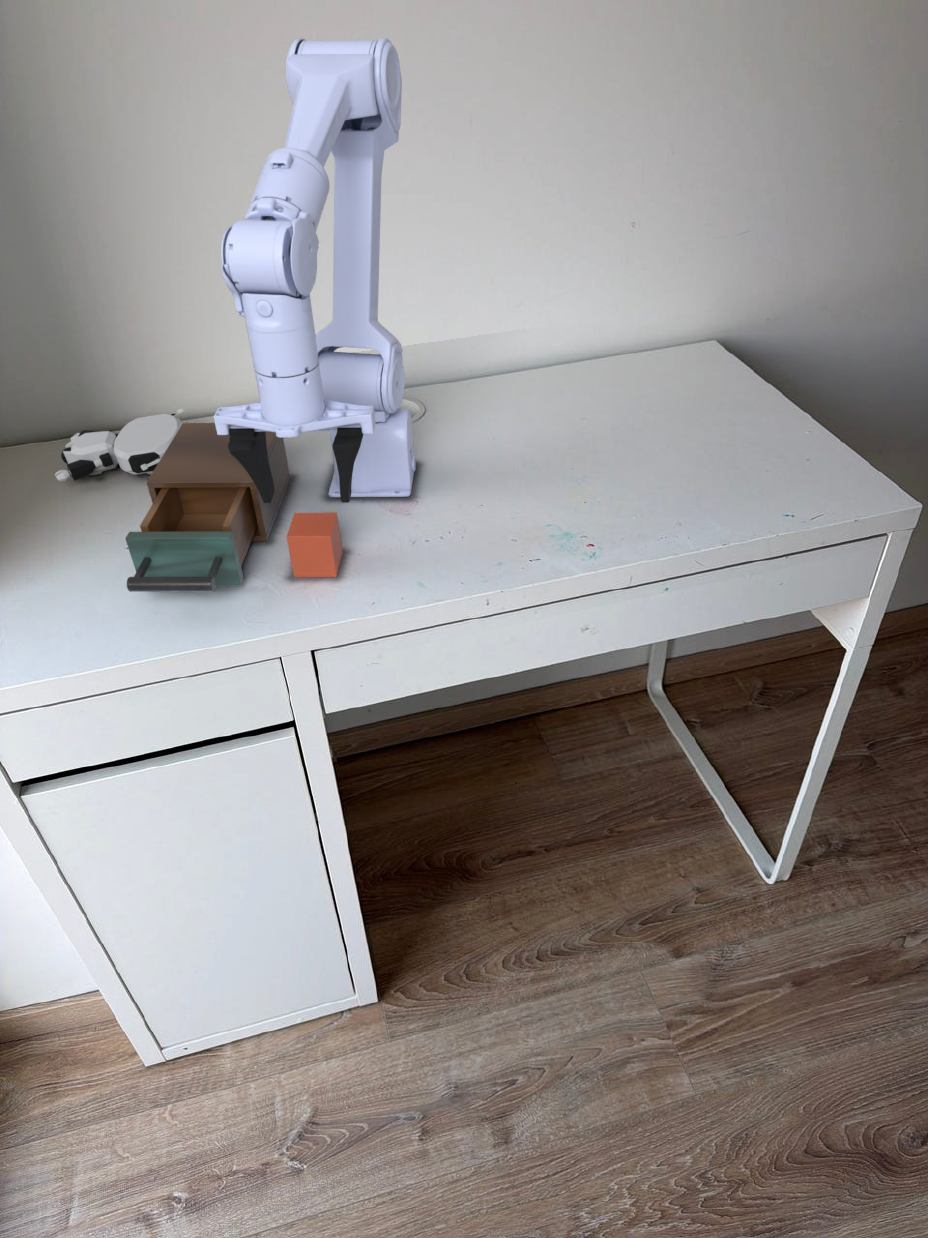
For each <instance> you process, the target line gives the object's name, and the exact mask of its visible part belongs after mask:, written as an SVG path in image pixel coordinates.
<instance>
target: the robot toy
mask: <svg viewBox="0 0 928 1238" xmlns="http://www.w3.org/2000/svg"><path fill="white" fill-rule="evenodd" d="M184 410H185V409H183V408H180V409H177V410H176V411H174V412H171V413H161V414H155V415H148V416H147V415H146V416H141V417H137V418H135V419H133V420H130V421H129V422H127V423H126V424H125V425H124V426H123V427H122V428H121V429H120V431H119V433H113V432H112V431H110V430H103V431H98V430H92V429H91V430H90V429H84V430H81V431H80V432H76V433H75V434H73V436H71V437H70V441H69V442H68V443H66V444H65V447H64V449H62V451H61V453H60V458H61V460H62V461H63V462H64V463H65V464H66V467H67V469H60V470H58V471H56V472H54V473H55V474H54V477H55V479H56V480H57V481H58V482H66V481H68V480H70V478H72V479H73V481H74V482H75V481H78V480H81V479H83V478H87V477H89V476H96V475H101V474H102V473H103V472H106V471H109V470H113V469H116V468H117V467H118V465H119V467H120V469H121V470H123V471H124V472H126V473H129V474H131V475H135V476H136V475H142V474H147V475H151V474H152V473H153V471H154V469H155V468H156V466H157V465H158V463H159V461H160V460H161V458H162V456H163V455H164V453H165V451H166V450H167V448H168V447H169V445H170V443H171V442H172V440H173V438H174V437H175V435H176V433H177V432H178V430H179V429H180V427H181V425H182V424H183V422H182V421H181V419H180V418H179V417H177V416H176V415H178V414H179V415H180V414H182V413H183V412H184Z"/></svg>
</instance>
